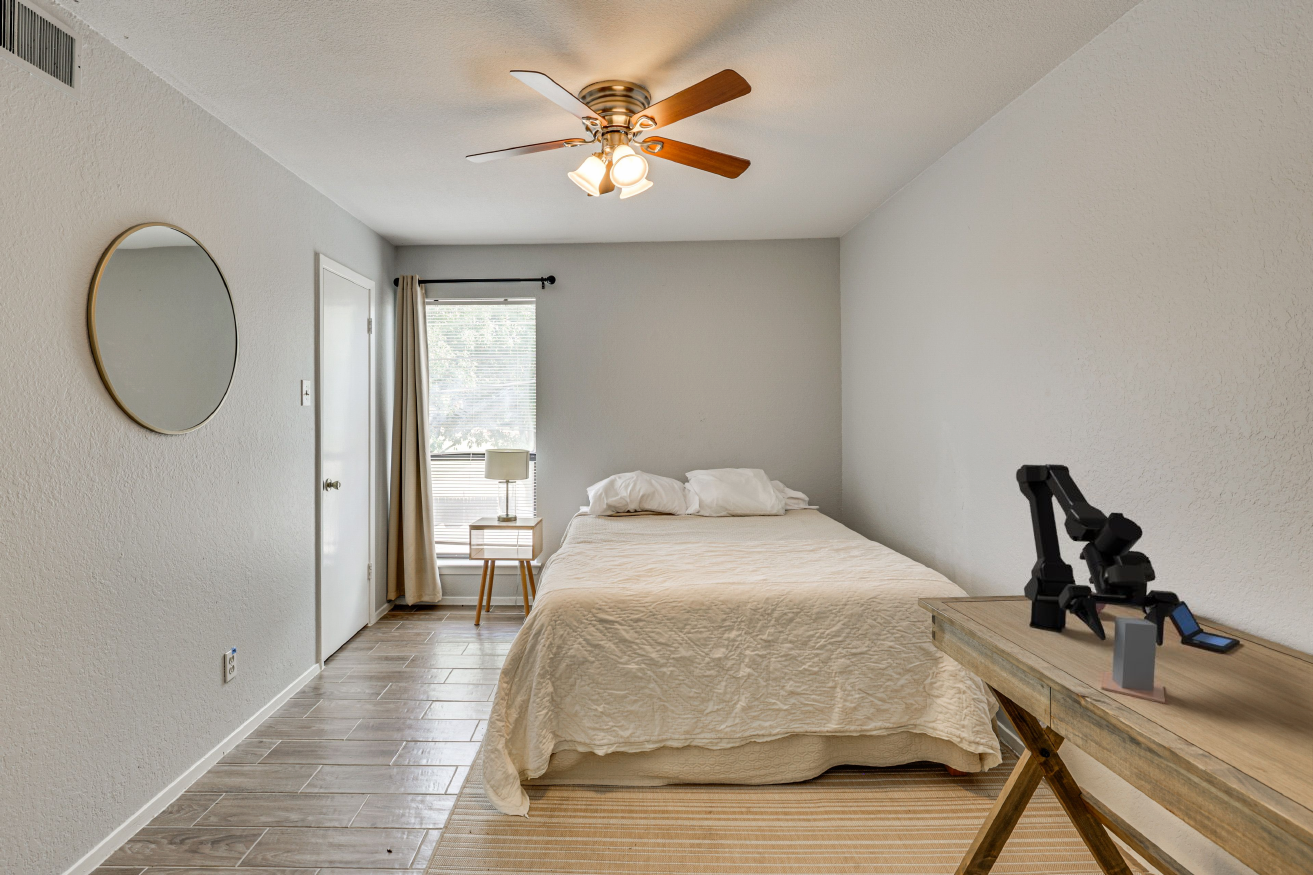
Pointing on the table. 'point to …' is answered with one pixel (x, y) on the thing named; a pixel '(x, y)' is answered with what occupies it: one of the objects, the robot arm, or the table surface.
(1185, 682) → the table surface
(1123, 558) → the carrying case or bag
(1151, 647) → the grey rectangular pillar
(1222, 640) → the handheld game console
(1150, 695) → the terracotta pad
